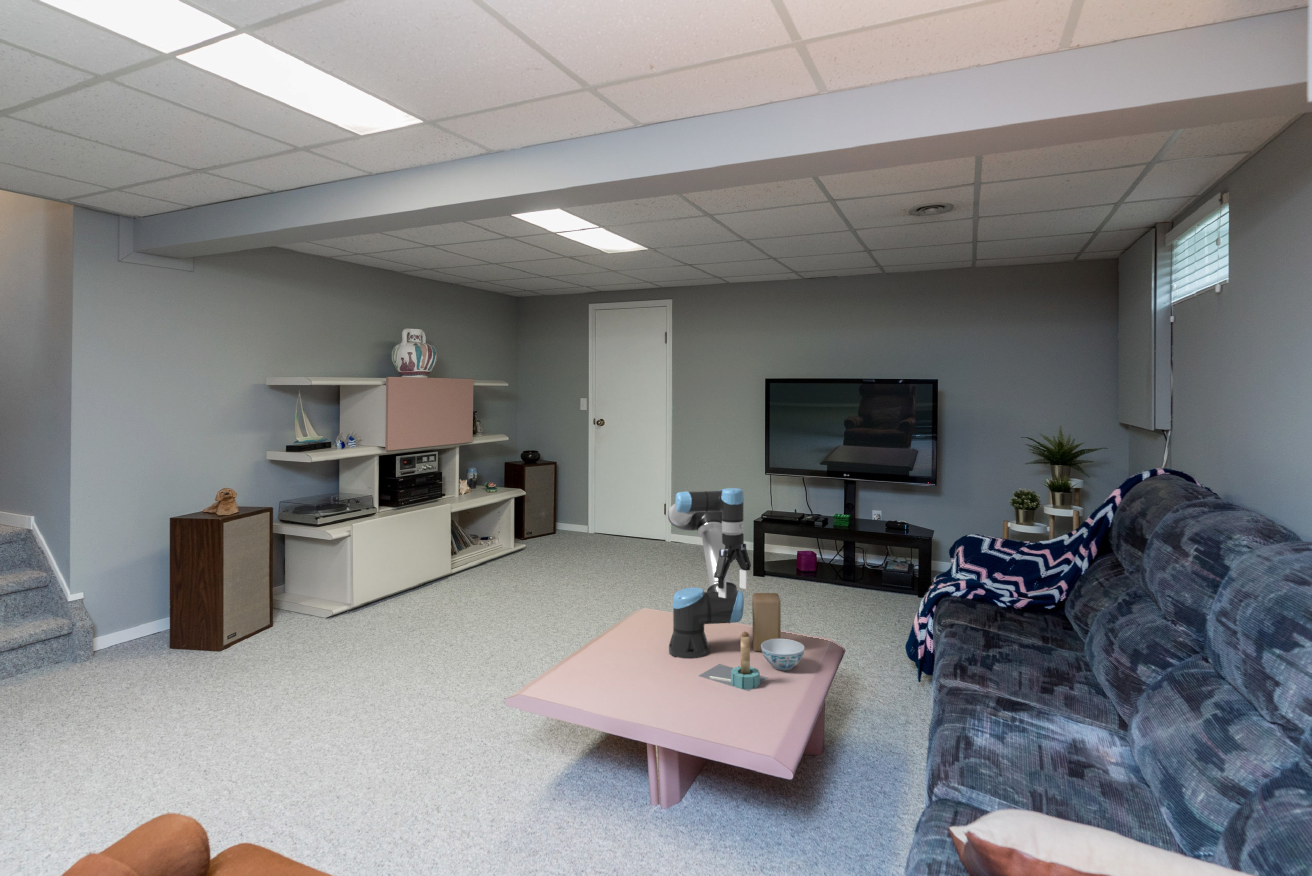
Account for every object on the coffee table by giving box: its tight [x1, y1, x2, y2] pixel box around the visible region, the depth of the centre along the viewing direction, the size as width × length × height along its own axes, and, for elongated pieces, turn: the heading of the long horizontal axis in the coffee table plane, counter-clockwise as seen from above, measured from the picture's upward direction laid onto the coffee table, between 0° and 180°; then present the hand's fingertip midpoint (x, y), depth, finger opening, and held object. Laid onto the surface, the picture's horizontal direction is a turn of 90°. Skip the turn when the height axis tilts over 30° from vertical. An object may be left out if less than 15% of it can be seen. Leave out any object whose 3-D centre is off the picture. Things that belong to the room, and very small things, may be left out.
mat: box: [698, 663, 769, 692], centre depth 233 cm, size 20×13×1 cm, turn 51°
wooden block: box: [751, 592, 782, 653], centre depth 259 cm, size 10×10×20 cm
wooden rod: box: [740, 631, 751, 675], centre depth 227 cm, size 3×3×17 cm
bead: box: [731, 665, 761, 690], centre depth 227 cm, size 9×9×4 cm
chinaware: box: [761, 638, 805, 671], centre depth 241 cm, size 15×15×8 cm
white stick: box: [709, 676, 731, 682], centre depth 230 cm, size 8×1×1 cm, turn 66°
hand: (733, 592), depth 240 cm, fingers open, 13 cm apart
